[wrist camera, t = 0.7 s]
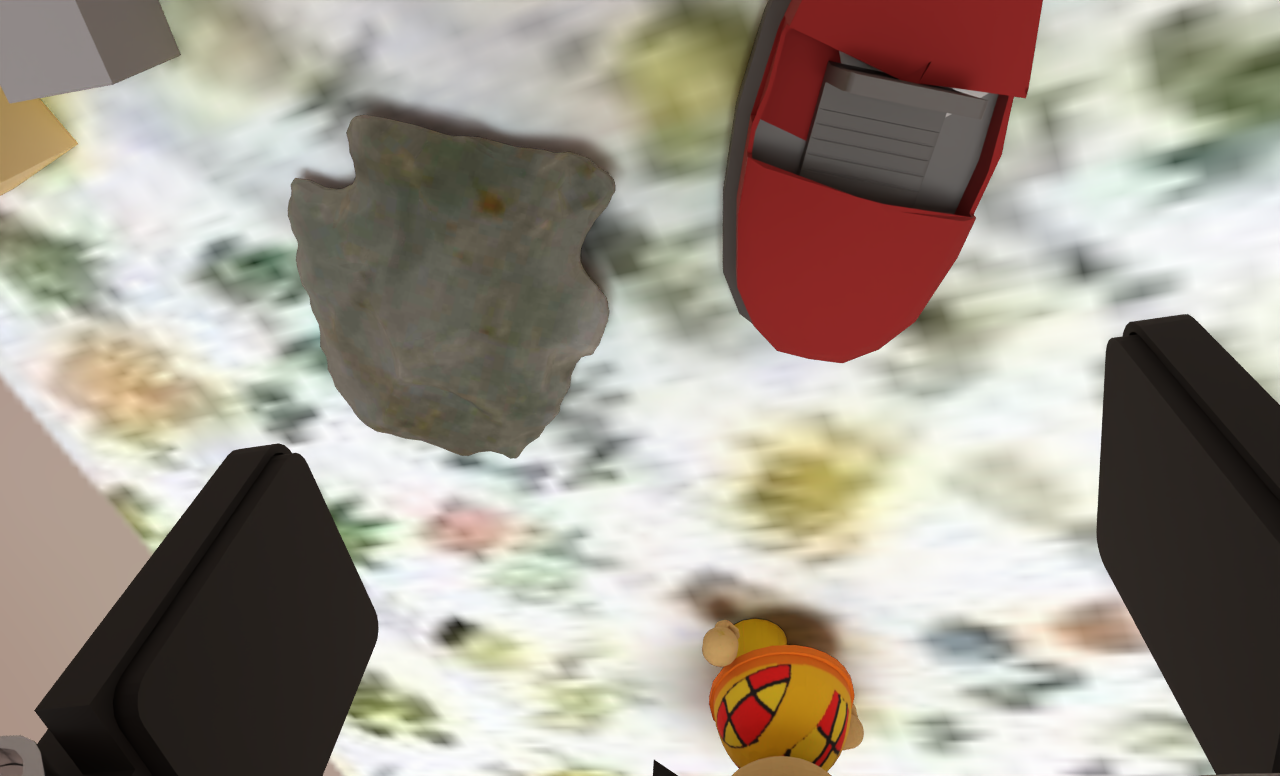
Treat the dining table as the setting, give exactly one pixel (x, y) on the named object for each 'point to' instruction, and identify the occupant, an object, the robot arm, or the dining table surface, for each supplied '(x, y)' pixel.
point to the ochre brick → (28, 140)
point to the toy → (777, 702)
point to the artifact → (452, 282)
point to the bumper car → (864, 160)
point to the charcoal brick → (78, 44)
